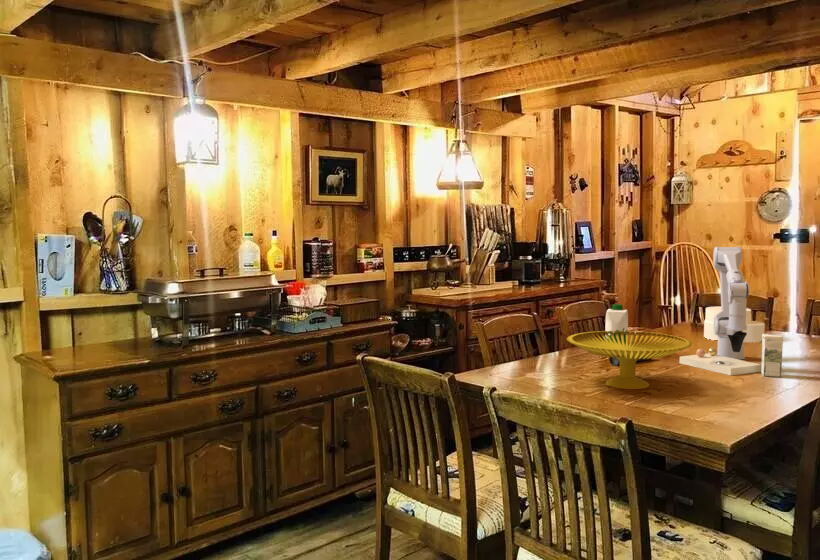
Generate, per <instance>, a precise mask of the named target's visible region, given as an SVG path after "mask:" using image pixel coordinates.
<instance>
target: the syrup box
mask: <svg viewBox="0 0 820 560" xmlns="http://www.w3.org/2000/svg"><path fill="white" fill-rule="evenodd" d="M783 343H784V338H783V335H782V334H780V333H764V334H762V342H761V363H760V364H761V373H760V374H761V375H762V376H763V377H771V378H772V377H773V378H782V372H783V371H782V370H783V368H782V367H783V366H782V365H783V347H784V346H783Z"/></svg>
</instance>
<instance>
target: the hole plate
mask: <svg viewBox="0 0 820 560" xmlns="http://www.w3.org/2000/svg"><path fill="white" fill-rule="evenodd" d="M719 361H722V362H724V363H725V364H716V363H717V362H719ZM679 364H682V365H686V366H690V367H695V368H698V369H702V370H707V371H710V372H715V373H717V374H723V375H728V376H737V375H745V374H752V373H760V372H761V363H756V362H752V361H746V360H744V359H740V360H738V359H734V358H729V357H724V356H719V355H717V354H716V355H714V356H711V355H710V354H709V353H708V352H707V353H705V355H704V356H703V357H699V356H697V354H692V355H691V354H690V355H683V356H682V355H681V356H679Z"/></svg>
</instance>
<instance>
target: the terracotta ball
mask: <svg viewBox="0 0 820 560" xmlns="http://www.w3.org/2000/svg"><path fill="white" fill-rule="evenodd" d="M705 354H706V351H705V349H703V348H697V350H696V352H695V355H697V356H699V357H703V356H704V355H705Z"/></svg>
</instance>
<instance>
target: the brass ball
mask: <svg viewBox="0 0 820 560" xmlns="http://www.w3.org/2000/svg"><path fill="white" fill-rule="evenodd" d="M707 353H709V354H710V355H711V356H714V355H717V348H716V347H713V346H711V347H709V348H708V349H707Z"/></svg>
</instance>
